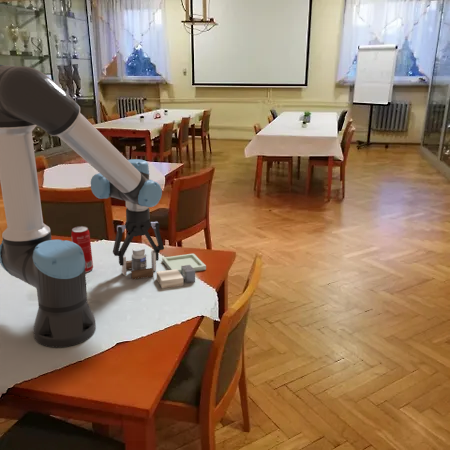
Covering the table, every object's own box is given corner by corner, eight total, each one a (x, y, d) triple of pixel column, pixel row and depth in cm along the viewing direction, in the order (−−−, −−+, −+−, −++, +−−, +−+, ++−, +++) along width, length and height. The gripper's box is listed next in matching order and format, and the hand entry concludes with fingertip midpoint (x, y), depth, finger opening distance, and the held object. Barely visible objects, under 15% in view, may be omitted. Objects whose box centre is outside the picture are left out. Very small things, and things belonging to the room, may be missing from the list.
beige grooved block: (183, 286, 145) (183, 277, 144) (161, 289, 143) (161, 280, 142) (177, 277, 152) (177, 269, 151) (156, 280, 149) (156, 271, 148)
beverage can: (95, 266, 156) (93, 225, 151) (88, 274, 150) (85, 232, 145) (79, 265, 157) (76, 224, 152) (71, 273, 150) (67, 230, 146)
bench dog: (195, 281, 148) (195, 270, 147) (186, 283, 147) (186, 271, 145) (189, 275, 152) (189, 264, 151) (181, 277, 151) (181, 266, 150)
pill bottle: (143, 275, 151) (142, 252, 148) (129, 274, 152) (129, 250, 149) (148, 270, 155) (147, 247, 152) (135, 268, 156) (134, 245, 153)
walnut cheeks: (153, 276, 151) (153, 269, 150) (132, 279, 148) (132, 272, 147) (145, 265, 159) (145, 258, 158) (125, 267, 156) (125, 261, 155)
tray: (206, 269, 157) (206, 265, 157) (173, 274, 152) (173, 270, 152) (193, 257, 167) (193, 253, 167) (162, 261, 163) (162, 257, 162)
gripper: (166, 202, 154) (167, 262, 161) (100, 207, 145) (104, 271, 152) (174, 208, 147) (173, 271, 155) (105, 214, 138) (108, 281, 146)
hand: (139, 271), depth 153 cm, fingers open, 9 cm apart
